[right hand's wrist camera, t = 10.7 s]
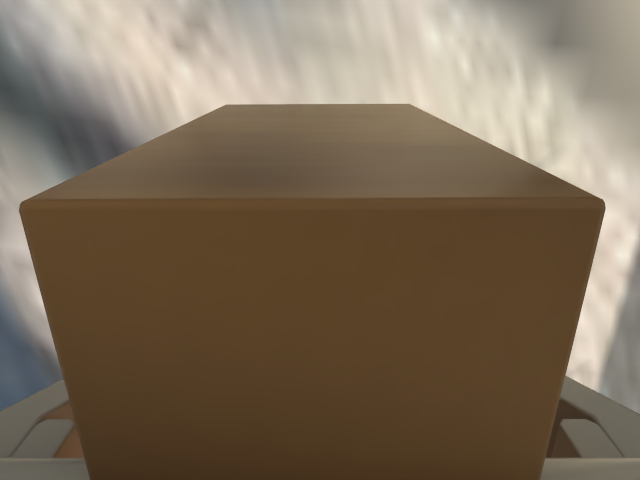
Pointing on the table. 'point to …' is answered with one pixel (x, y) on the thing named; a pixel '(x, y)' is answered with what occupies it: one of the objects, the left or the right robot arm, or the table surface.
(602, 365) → the table surface
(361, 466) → the beam
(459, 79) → the table surface
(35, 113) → the table surface
